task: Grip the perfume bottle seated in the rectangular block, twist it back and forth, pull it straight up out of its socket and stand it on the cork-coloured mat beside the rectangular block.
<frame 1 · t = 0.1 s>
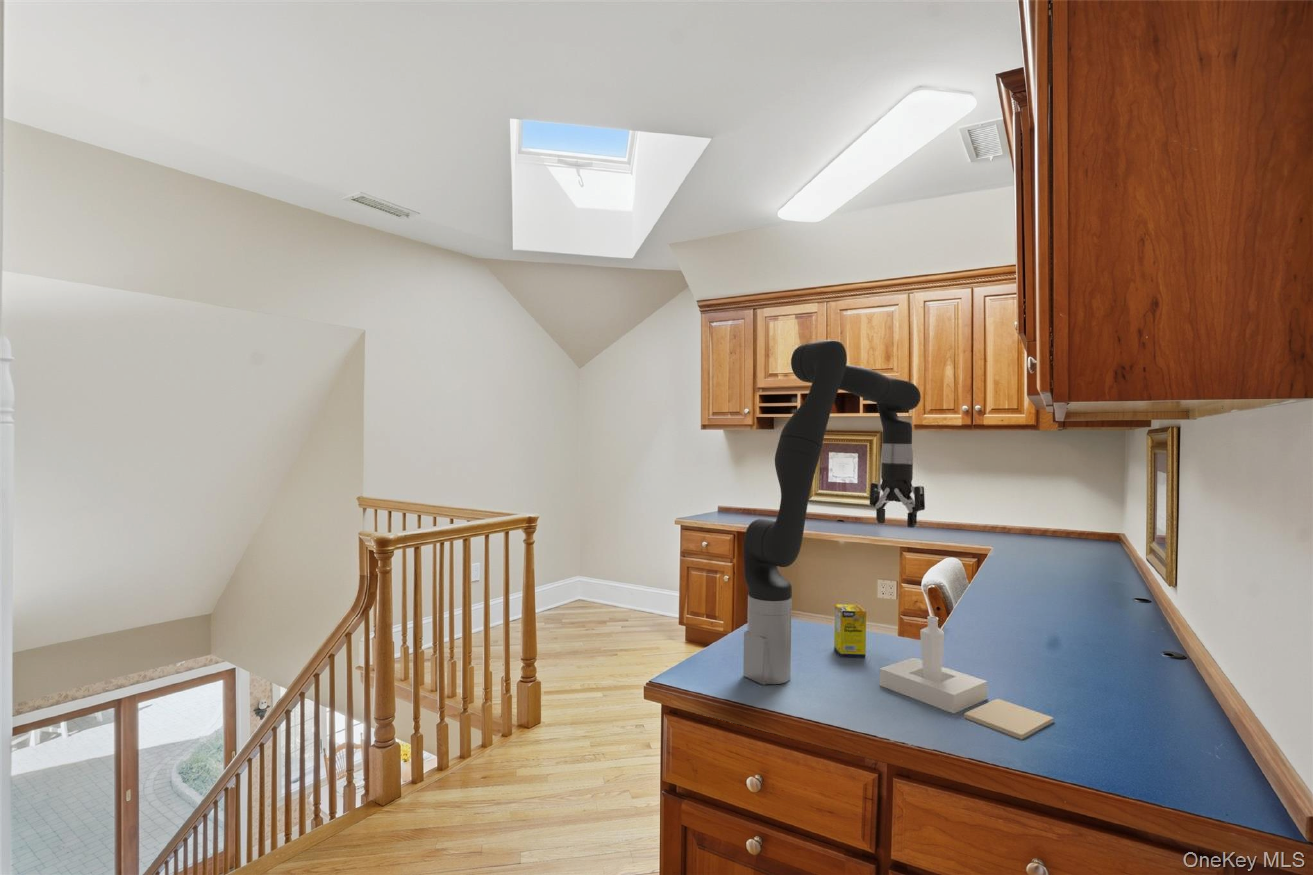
hand: (896, 525, 160), 29 cm above the table, tool pointing down, fingers open, 8 cm apart
perfume bottle: (931, 692, 127), resting in rectangular block
mat: (1008, 719, 115), on the table
rectangular block: (931, 691, 127), on the table
supplement box: (849, 654, 149), on the table
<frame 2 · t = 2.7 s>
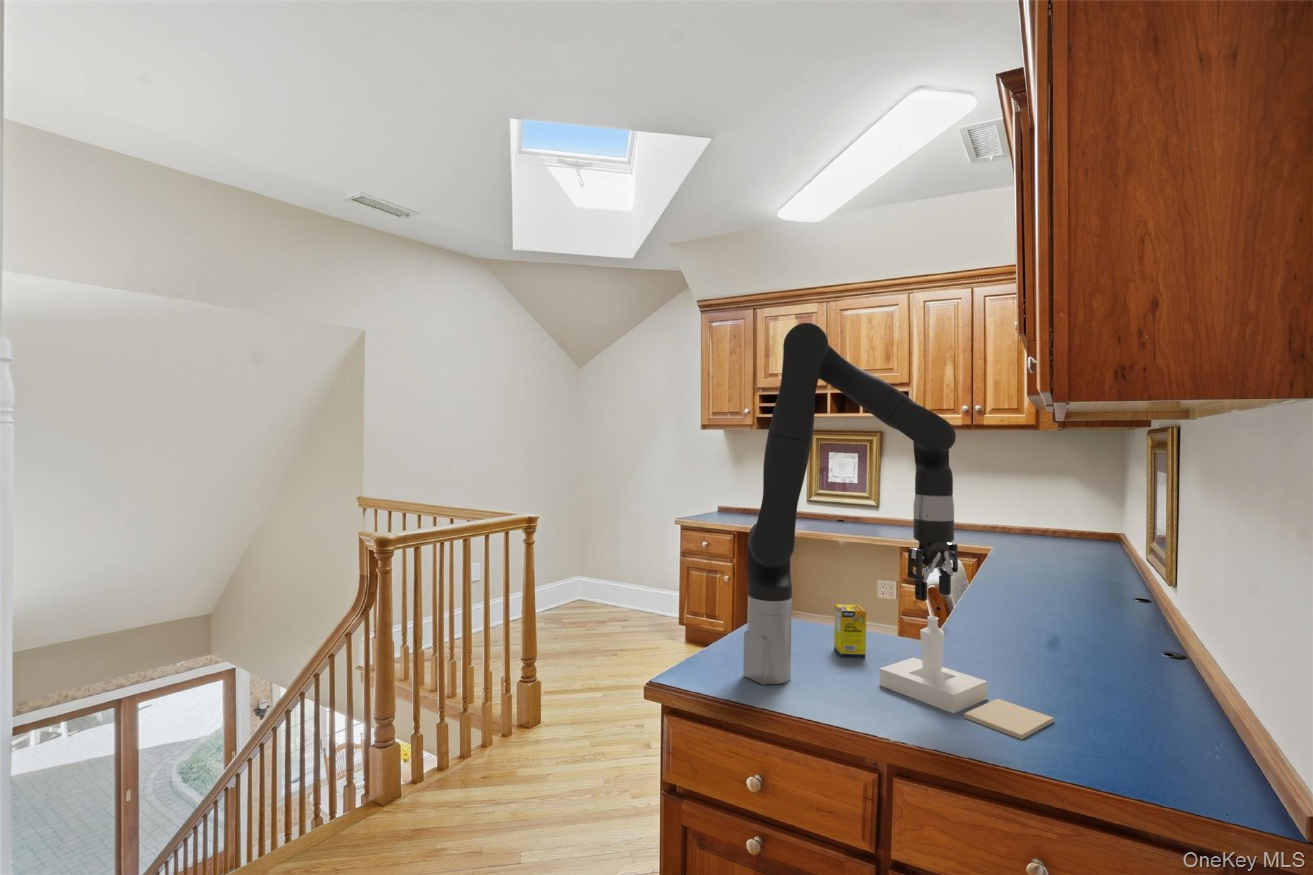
hand: (933, 597, 127), 19 cm above the table, tool pointing down, fingers open, 8 cm apart
nothing on the table moved.
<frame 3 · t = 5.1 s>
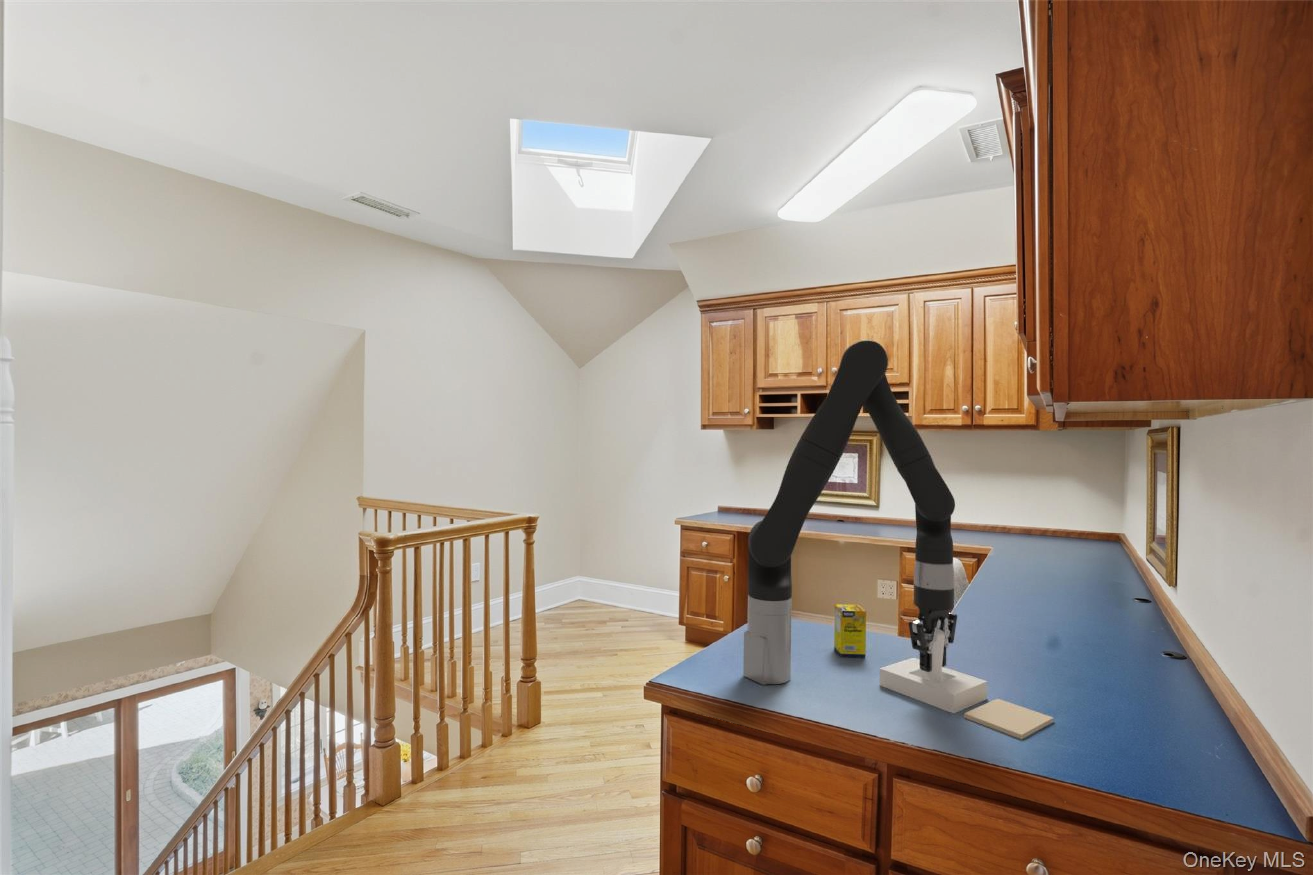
hand: (933, 667, 127), 5 cm above the table, tool pointing down, fingers closed on perfume bottle, 4 cm apart
perfume bottle: (931, 692, 127), resting in rectangular block, touching gripper
everything else where it was.
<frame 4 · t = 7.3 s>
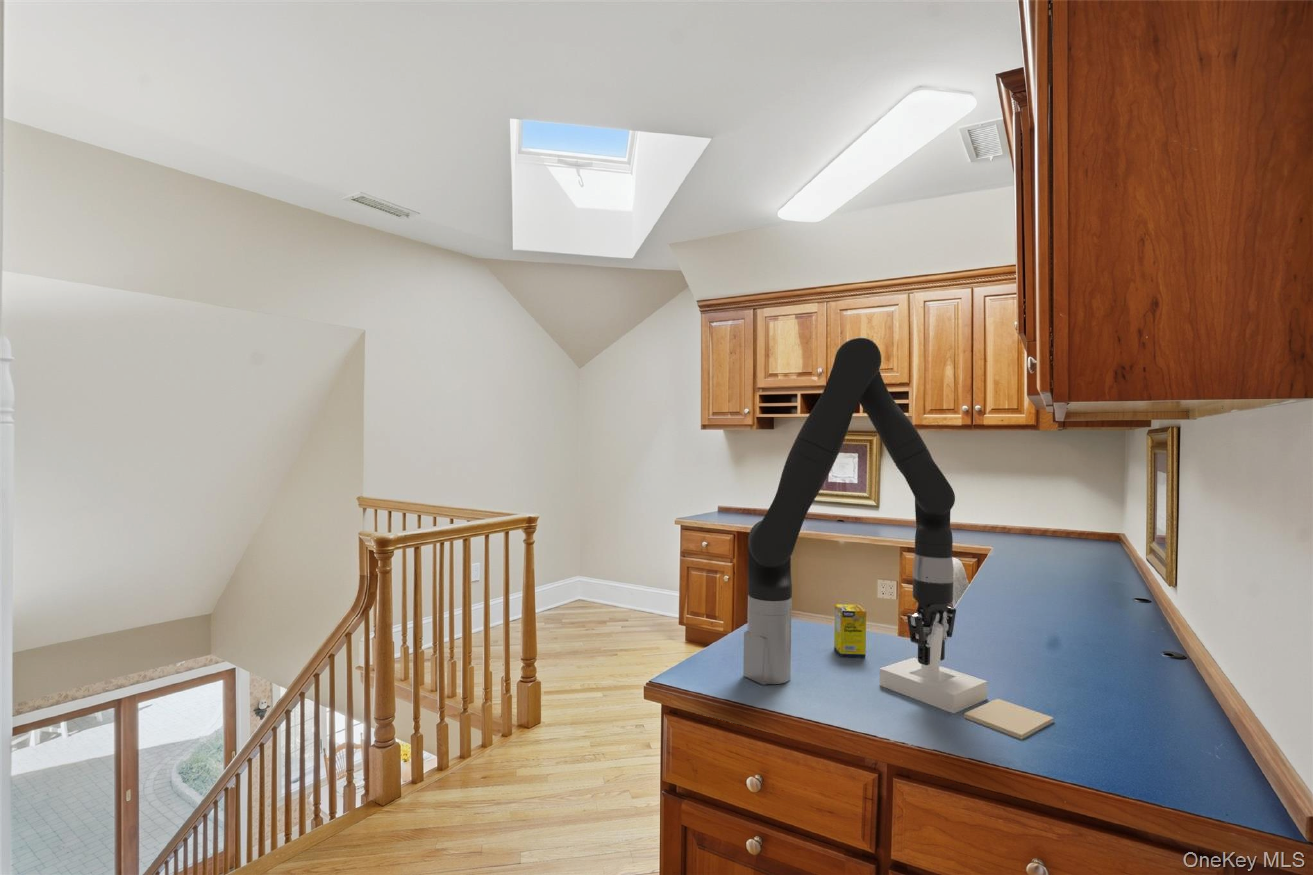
hand: (931, 661, 127), 6 cm above the table, tool pointing down, fingers closed on perfume bottle, 4 cm apart
perfume bottle: (929, 686, 127), point 1 cm above the table, touching gripper
everything else where it was.
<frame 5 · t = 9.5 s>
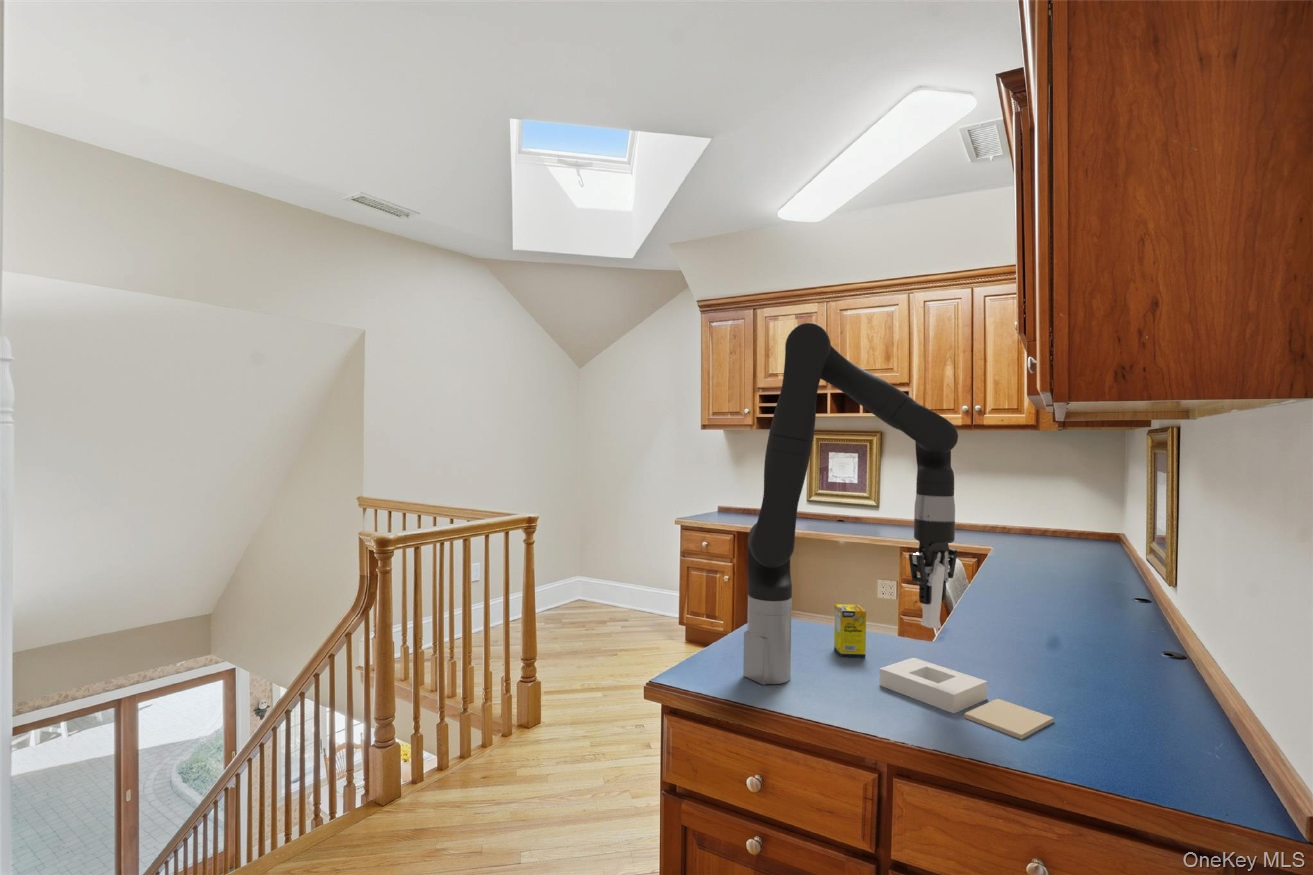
hand: (932, 601, 127), 18 cm above the table, tool pointing down, fingers closed on perfume bottle, 4 cm apart
perfume bottle: (931, 626, 127), point 13 cm above the table, touching gripper
everything else where it was.
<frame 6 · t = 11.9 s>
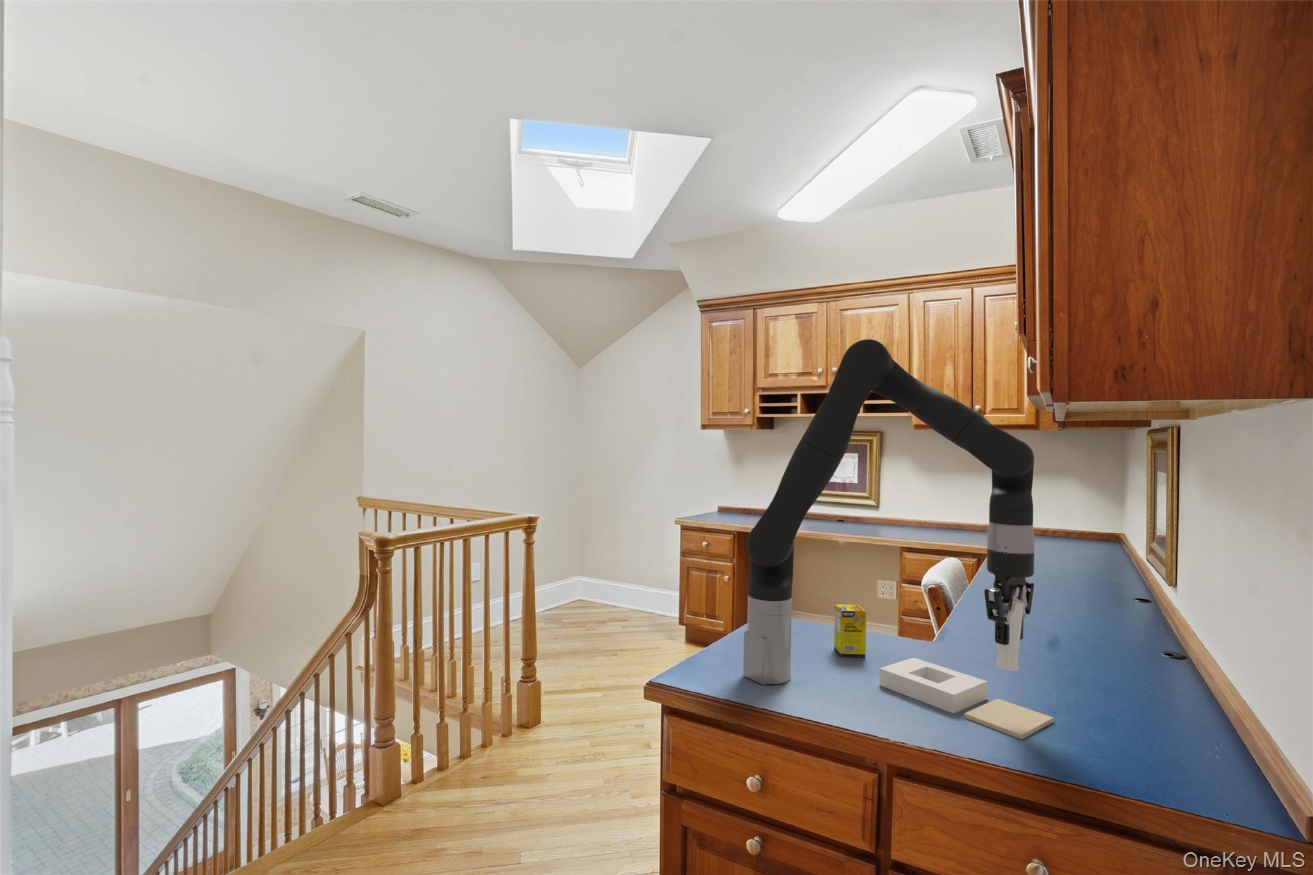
hand: (1009, 640, 115), 14 cm above the table, tool pointing down, fingers closed on perfume bottle, 4 cm apart
perfume bottle: (1007, 668, 115), point 9 cm above the table, touching gripper
everything else where it was.
when the fingers open (6 cm above the table, at t = 14.1 s): perfume bottle stays where it is, resting on mat.
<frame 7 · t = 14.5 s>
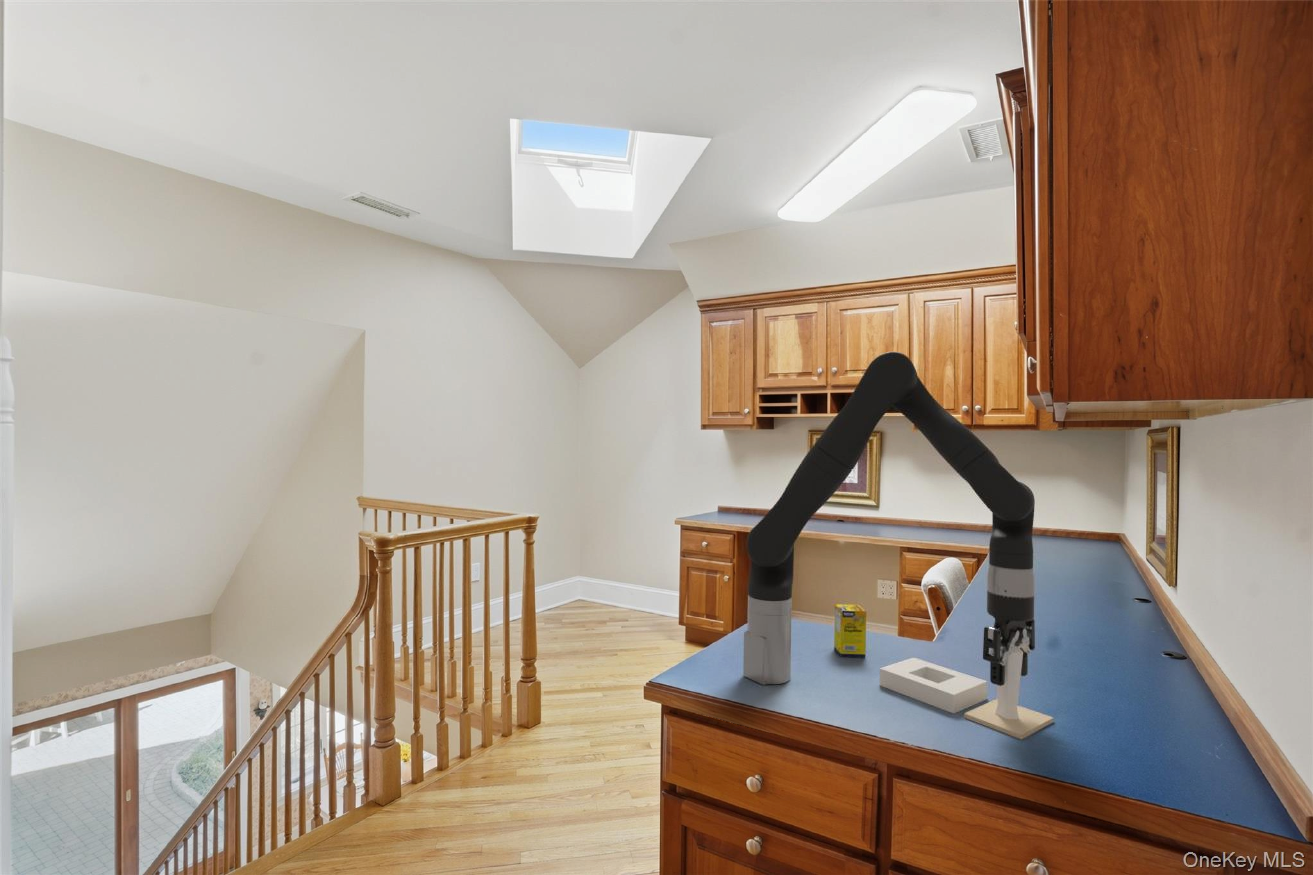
hand: (1009, 679, 115), 7 cm above the table, tool pointing down, fingers open, 8 cm apart
perfume bottle: (1007, 716, 114), point 1 cm above the table, touching mat
everything else where it was.
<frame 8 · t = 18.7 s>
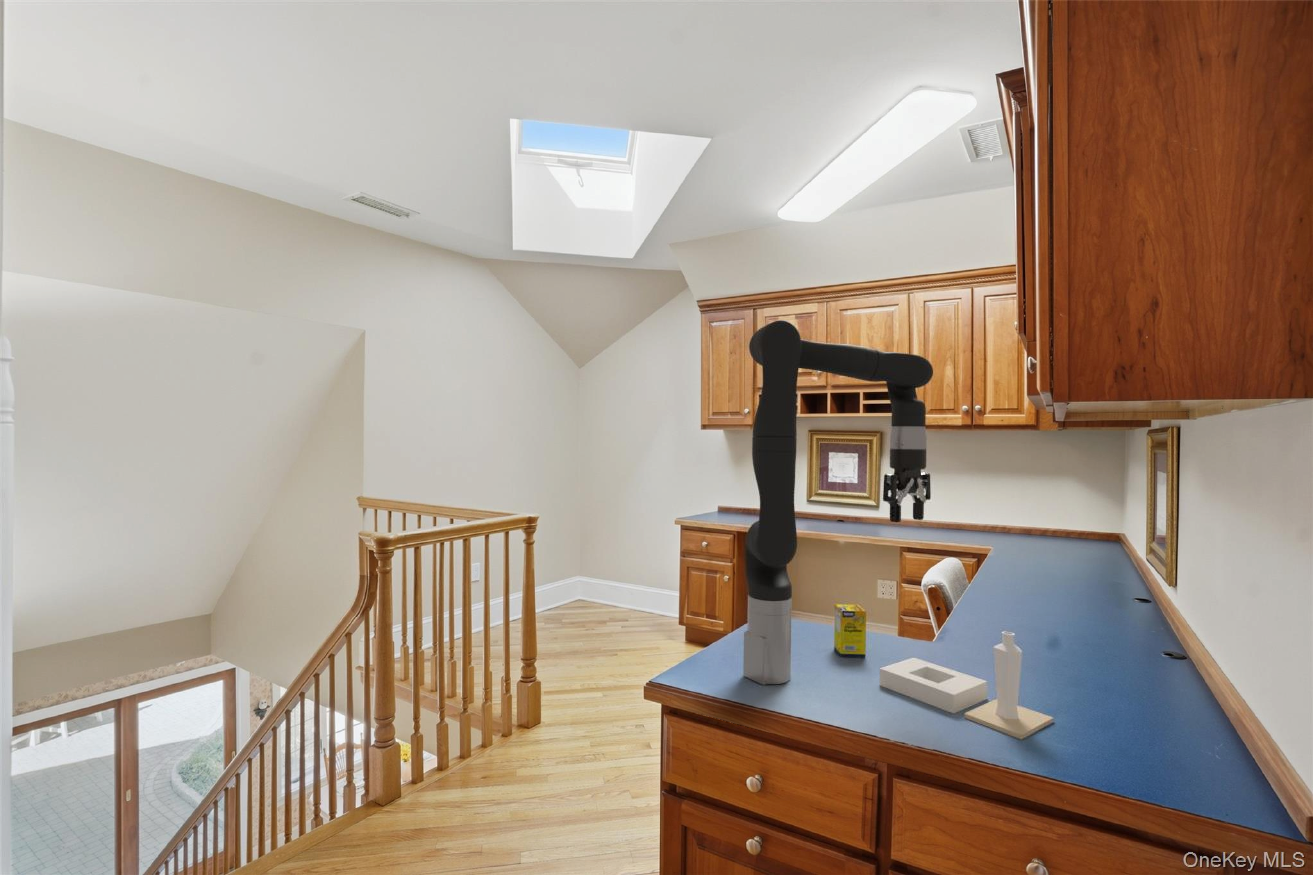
hand: (907, 520, 138), 33 cm above the table, tool pointing down, fingers open, 8 cm apart
nothing on the table moved.
at the end: perfume bottle inside the target area on the mat (0.3 cm from its centre), point 0.6 cm above the mat's base; perfume bottle tilted 0°; perfume bottle touching mat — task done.
